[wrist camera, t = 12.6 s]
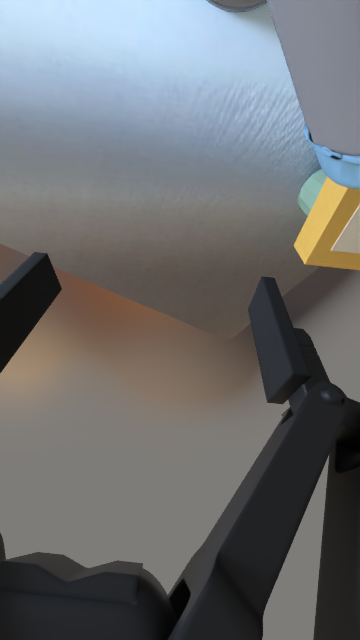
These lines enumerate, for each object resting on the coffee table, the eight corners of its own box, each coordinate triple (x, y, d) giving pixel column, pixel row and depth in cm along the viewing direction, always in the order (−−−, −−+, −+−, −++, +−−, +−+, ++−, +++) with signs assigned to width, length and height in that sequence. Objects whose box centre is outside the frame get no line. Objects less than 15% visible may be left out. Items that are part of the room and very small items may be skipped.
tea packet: (334, 160, 24) (357, 172, 20) (411, 168, 24) (447, 181, 20) (293, 245, 31) (304, 264, 27) (352, 251, 31) (371, 271, 27)
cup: (331, 218, 35) (354, 239, 30) (290, 213, 35) (305, 234, 30) (374, 143, 28) (412, 154, 23) (322, 138, 28) (349, 147, 23)
